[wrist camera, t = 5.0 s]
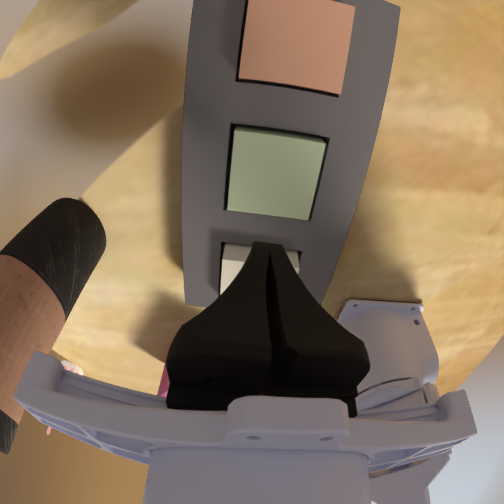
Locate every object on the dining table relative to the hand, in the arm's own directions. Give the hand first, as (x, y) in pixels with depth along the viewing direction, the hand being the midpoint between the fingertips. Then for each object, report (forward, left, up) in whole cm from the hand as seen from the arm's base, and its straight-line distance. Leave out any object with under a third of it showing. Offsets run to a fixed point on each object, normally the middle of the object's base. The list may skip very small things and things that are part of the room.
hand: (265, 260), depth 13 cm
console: (0, -2, -9) cm, 9 cm away
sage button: (0, -2, -7) cm, 7 cm away
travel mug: (+17, +6, -9) cm, 20 cm away
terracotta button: (0, -10, -6) cm, 12 cm away
